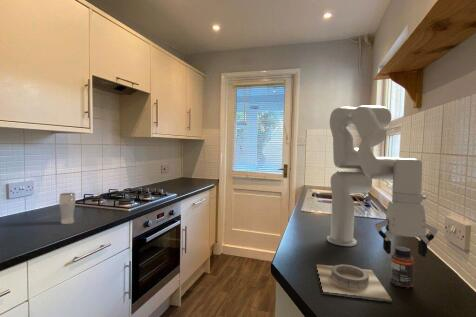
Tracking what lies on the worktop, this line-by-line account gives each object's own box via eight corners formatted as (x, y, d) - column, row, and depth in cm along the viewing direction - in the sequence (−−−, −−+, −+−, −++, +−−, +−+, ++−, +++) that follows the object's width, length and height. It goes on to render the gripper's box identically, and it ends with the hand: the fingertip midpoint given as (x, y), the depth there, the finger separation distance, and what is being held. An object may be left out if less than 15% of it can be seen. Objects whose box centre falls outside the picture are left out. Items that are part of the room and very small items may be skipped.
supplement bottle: (404, 279, 87) (406, 245, 86) (417, 289, 81) (419, 252, 80) (386, 279, 87) (388, 244, 86) (397, 289, 81) (399, 252, 80)
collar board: (316, 267, 94) (316, 257, 94) (371, 272, 91) (371, 262, 91) (322, 294, 76) (323, 282, 76) (391, 302, 73) (392, 290, 73)
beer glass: (73, 223, 137) (73, 194, 136) (57, 225, 134) (57, 195, 134) (76, 220, 143) (76, 192, 143) (61, 221, 141) (61, 192, 140)
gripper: (431, 198, 84) (429, 252, 85) (372, 195, 88) (370, 247, 88) (445, 202, 77) (442, 261, 77) (380, 198, 80) (378, 255, 80)
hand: (404, 253), depth 83 cm, fingers open, 9 cm apart
